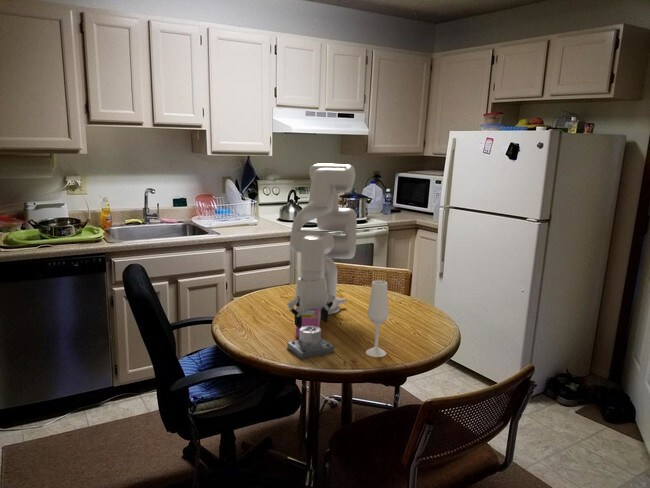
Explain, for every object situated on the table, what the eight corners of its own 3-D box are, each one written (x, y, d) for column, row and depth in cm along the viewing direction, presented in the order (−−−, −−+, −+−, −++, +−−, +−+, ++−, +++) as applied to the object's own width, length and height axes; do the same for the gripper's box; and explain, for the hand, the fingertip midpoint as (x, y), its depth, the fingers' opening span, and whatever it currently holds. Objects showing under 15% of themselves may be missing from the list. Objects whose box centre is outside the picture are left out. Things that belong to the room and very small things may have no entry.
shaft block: (318, 341, 165) (318, 322, 164) (333, 351, 157) (334, 331, 155) (287, 347, 159) (287, 328, 158) (301, 359, 151) (302, 338, 149)
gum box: (301, 314, 191) (301, 282, 188) (320, 315, 191) (321, 282, 188) (295, 338, 168) (296, 301, 165) (317, 338, 167) (318, 301, 165)
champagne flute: (383, 348, 161) (387, 279, 156) (388, 356, 154) (392, 285, 150) (363, 348, 160) (367, 279, 155) (368, 357, 153) (371, 285, 149)
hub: (313, 338, 162) (314, 324, 161) (323, 345, 157) (324, 330, 156) (296, 341, 159) (296, 327, 158) (306, 349, 154) (306, 334, 153)
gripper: (329, 267, 161) (327, 315, 164) (282, 274, 152) (282, 325, 156) (341, 273, 154) (339, 323, 158) (293, 281, 145) (293, 333, 149)
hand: (311, 324), depth 157 cm, fingers open, 9 cm apart
